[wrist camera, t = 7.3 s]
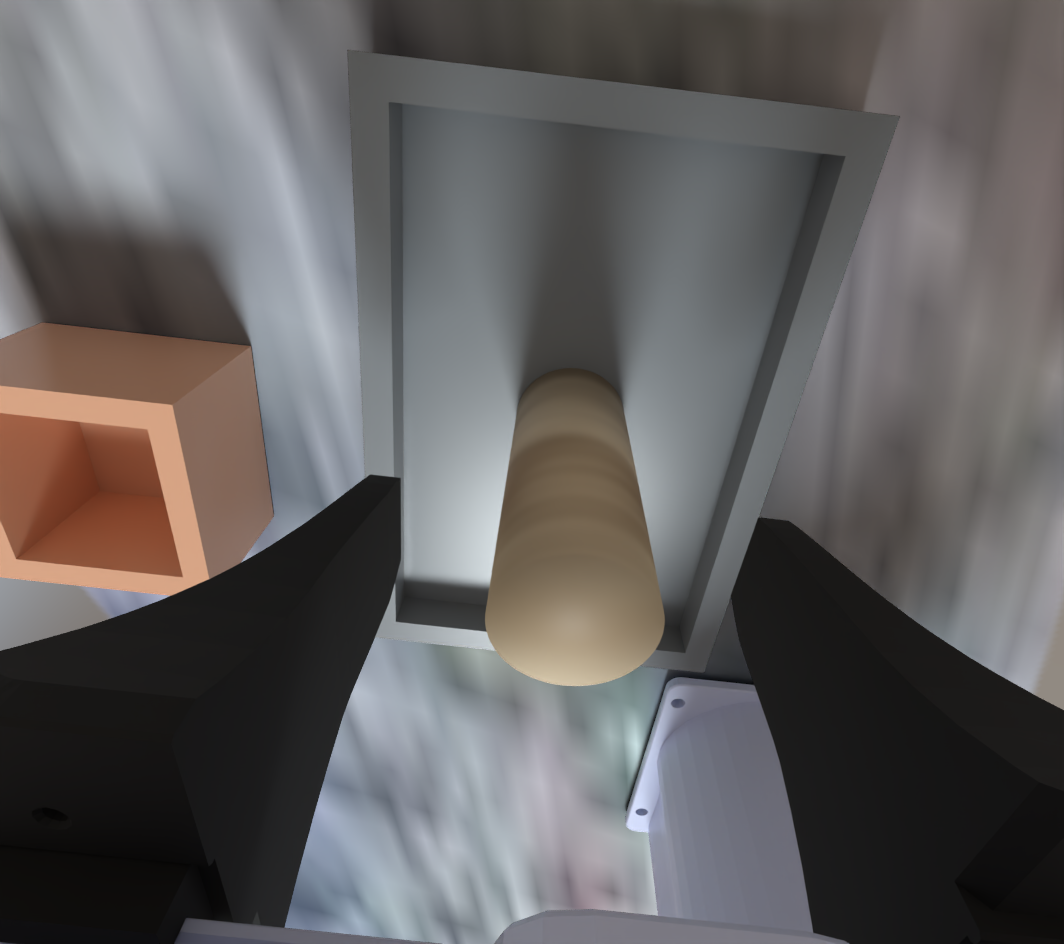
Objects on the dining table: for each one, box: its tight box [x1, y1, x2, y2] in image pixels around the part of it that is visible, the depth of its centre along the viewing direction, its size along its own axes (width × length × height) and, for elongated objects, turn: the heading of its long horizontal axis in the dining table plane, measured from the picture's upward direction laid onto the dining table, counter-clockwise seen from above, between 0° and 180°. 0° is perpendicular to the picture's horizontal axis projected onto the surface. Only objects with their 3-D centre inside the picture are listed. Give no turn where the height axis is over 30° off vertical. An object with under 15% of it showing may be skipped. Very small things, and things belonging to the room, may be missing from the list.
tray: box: [347, 50, 900, 673], centre depth 17 cm, size 16×11×2 cm
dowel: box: [485, 368, 665, 686], centre depth 14 cm, size 3×3×8 cm
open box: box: [0, 322, 274, 596], centre depth 17 cm, size 6×6×4 cm
